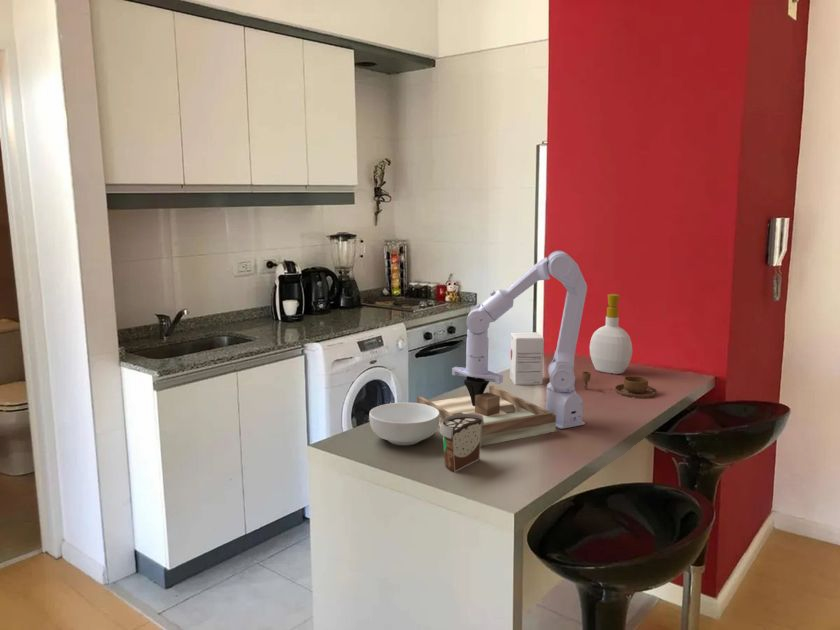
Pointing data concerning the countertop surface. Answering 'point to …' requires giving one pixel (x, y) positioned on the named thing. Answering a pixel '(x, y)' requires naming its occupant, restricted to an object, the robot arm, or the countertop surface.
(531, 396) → the countertop surface
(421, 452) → the countertop surface
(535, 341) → the supplement box
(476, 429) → the food container
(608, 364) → the soap bottle
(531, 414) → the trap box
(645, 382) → the place setting
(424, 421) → the cereal bowl
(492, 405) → the walnut block
